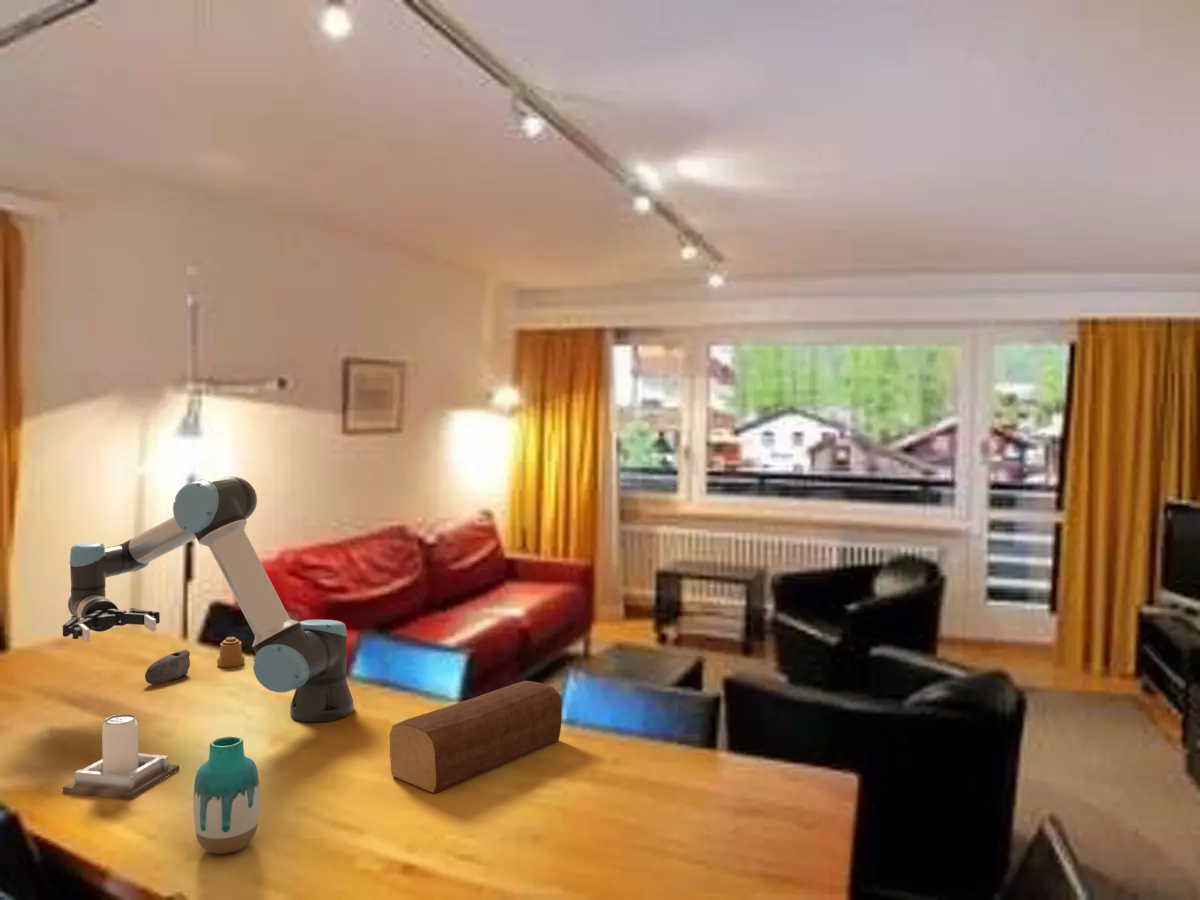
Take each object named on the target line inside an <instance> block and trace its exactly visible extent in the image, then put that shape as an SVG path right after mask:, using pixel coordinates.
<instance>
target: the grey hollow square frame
mask: <svg viewBox="0 0 1200 900" xmlns="http://www.w3.org/2000/svg"><path fill="white" fill-rule="evenodd" d="M168 764H169V756H168V755H161V754H152V753H144V752H143V753H142V752H138V767H139V768H138V769H136V770H134V771H132V772H131V773H129V774H127V775H123V774H115V773H106V772H103V758H101V759H100V760H98V761H96V762H93V763H92V764H90V765H89V766H86V767H84V768H82V769H77V770H76V771H74V781H75V784H79V785H87V786H96V787H104V788H113V789H121V790H129V791H131V790H132V789H134V788H135V786H136V785H137V784H139V783H141V782H143V781H144V780H146V779H148V778H149V777H151V776H153V775H154V774H156V773H158V772H159V771H161V770H166V769H168Z"/></svg>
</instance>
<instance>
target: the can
mask: <svg viewBox="0 0 1200 900" xmlns="http://www.w3.org/2000/svg"><path fill="white" fill-rule="evenodd" d="M101 730H102V731H101V732H102V734H101V735H102V736H101V738H102V739H101V741H102V742H101V744H102V745H101V746H102V751H101V752H102V754H101V755H102V756H101V757H102V759H103V772H106V773H115V774H123V775H127V774H129V773H131V772H132V771H134V770H136V769H138V753H139V724H138V721H137V720H136V716H135V715H134V714H130V713H124V714H123V713H122V714H120V713H119V714H115V715H112V716H109V717H107V718H105V719H104V724H103V725H102V729H101Z"/></svg>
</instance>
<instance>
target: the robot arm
mask: <svg viewBox="0 0 1200 900" xmlns="http://www.w3.org/2000/svg"><path fill="white" fill-rule="evenodd" d="M174 497H175V500H174V502H173V504H172V505H173V507H172V511H173V513H172V514H173V517H171V518H169V519H166V520H165V521H163V522H161V523H159V524H158V525H155V526H153V527H151V528H150V529H147V530H146V531H144V532H141V533H140V534H138V535H136V536H134V537H132V538H131V539H129V540H127V541H125V542H123V543H121V544H117V545H113V546H108V547H105V544H104V543H102V542H95V541H94V542H93V541H92V542H83V543H76V544H74V545H73V546H71V548H70V555H69V566H70V596H69V598H68V600H67V607H68V611H69V613H70V614H71V617H70V619H69V620H67V621H66V622H65V623H64V624H63V625H62V636H63V638H64V637H69V636H70V635H72V639H73V640H78V639H79V638H81V639H82V640H83V641H85V643H87V642H88V643H89V642H91V636H90V635H91V634H90V633H91V632H90V631H93V632H96V633H97V632H99V633H100V632H105V631H108V630H110V629H112V628H113V627H115V626H116V627H117V626H118V627H119V626H120V627H121V626H125V625H139V626H140V625H141V626H144V627H145V628H146V629H147V630H149V631H151V632H153V633H154V632H157V624H160V623H161V622H160V621H161V617H160V616H161V615H160V612H158V611H153V610H145V609H144V610H143V609H137V608H134V607H131V608H129V610H128V611H127V610H124V609H119V608H118V606H117V605H116V604H115V603H114V602H113V601H111V600H109V599H108V598H107V597H106V579H107V578H109V577H110V578H111V577H113V576H119V575H122V574H126V573H133V572H134V573H135V572H137V571H140V570H141V569H144V568H146V567H148V566H149V564H150V562H152V561H154V560H156V559H158V558H160V557H162V556H164V555H167V554H168V553H170V552H172V551H174V550H176V549H178V548H180V547H182V546H184V545H186V544H188V543H190V542H193V541H195V540H197V542H198V543H199V545H202V546H206V547H208V548H209V550H210V551H211V554H212V555H213V557H214V560H215V562H216V564H217V565H218V567H219V569H220V571H221V574H222V575H223V577H224V579H225V581H226V582H227V585H228V587H229V589H230V591H231V592H232V595H233V596H234V599H235V600H236V602H237V604H238V606H239V608H240V610H241V612H242V614H243V615H244V618H245V620H246V622H247V624H248V625H249V627H250V629H251V631H252V633H253V636H254V639H253V643H252V648H253V650H254V653H255V656H254V659H253V662H254V663H253V665H252V669H253V673H254V676H255V678H256V680H257V681H258V682H259V684H261V686H262V687H264V689H267V690H269V691H270V692H275V693H281V694H282V693H287V692H288V693H289V692H290V691H294V690H295V691H294V694H293V696H292V701H291V702H290V706H289V707H290V709H289V710H290V711H289V715H290V718H292V719H294V720H297V721H299V722H307V723H324V722H331V721H337V720H340V719H342V718H346V717H348V716H350V715H351V714H352V713H353V712H354V698H353V695H352V693H351V690H350V687H349V683H348V681H347V649H348V648H347V646H348V645H347V644H348V643H347V642H348V641H347V638H348V634H347V627H346V624H345V623H344V622H342V621H339V620H334V619H306V620H301V621H298V620H295V619H292V618H290V616H289V614H288V612H287V610H286V609H285V607H284V604H283V603H282V601H281V599H280V597H279V595H278V593H277V591H276V589H275V587H274V585H273V584H272V581H271V580H270V577H269V575H268V574H267V572H266V569H265V567H264V566H263V564H262V562H261V560H260V558H259V556H258V555H257V552H256V551H255V547H253V544H252V543H251V541H250V539H249V537H248V535H247V533H246V531H245V529H246V526H247V523H248V521H247V519H248V518H250V517H251V516H252V514H253V513H254V511H255V510H256V507H257V504H258V496H257V493H256V490H255V488H254V487H253V485H252V484H251V483H250V482H249V481H247V480H246V479H243V478H242V477H239V476H238V477H237V476H225V477H218V478H211V479H210V478H209V479H199V480H196V481H192V482H189V483H187V484H185V485H183V486H182V487H180V489H179V491H178V492H177V493H176V495H175V496H174Z"/></svg>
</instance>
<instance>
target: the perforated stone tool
mask: <svg viewBox="0 0 1200 900" xmlns="http://www.w3.org/2000/svg"><path fill="white" fill-rule="evenodd" d="M190 660H191V659H190V651H189V650H188V649H183V650H180V651H176V652H173V653H170V654H166V655H165V656H163V657H161V658H160V659H158V660H156V661H154V662H152V664H150V666H148V668H147V669H146V671H145V674H144V679H145V681H146V683H147V684H149V685H159V683H160V684H163V683H166V682H165V681H168V682H171V681H174V680H177V679H179V678H180V677H182V676H185V675H187V674H188V673H189V669H190V666H191V661H190ZM176 678H177V679H176ZM173 679H174V680H173ZM170 680H171V681H170Z"/></svg>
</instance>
